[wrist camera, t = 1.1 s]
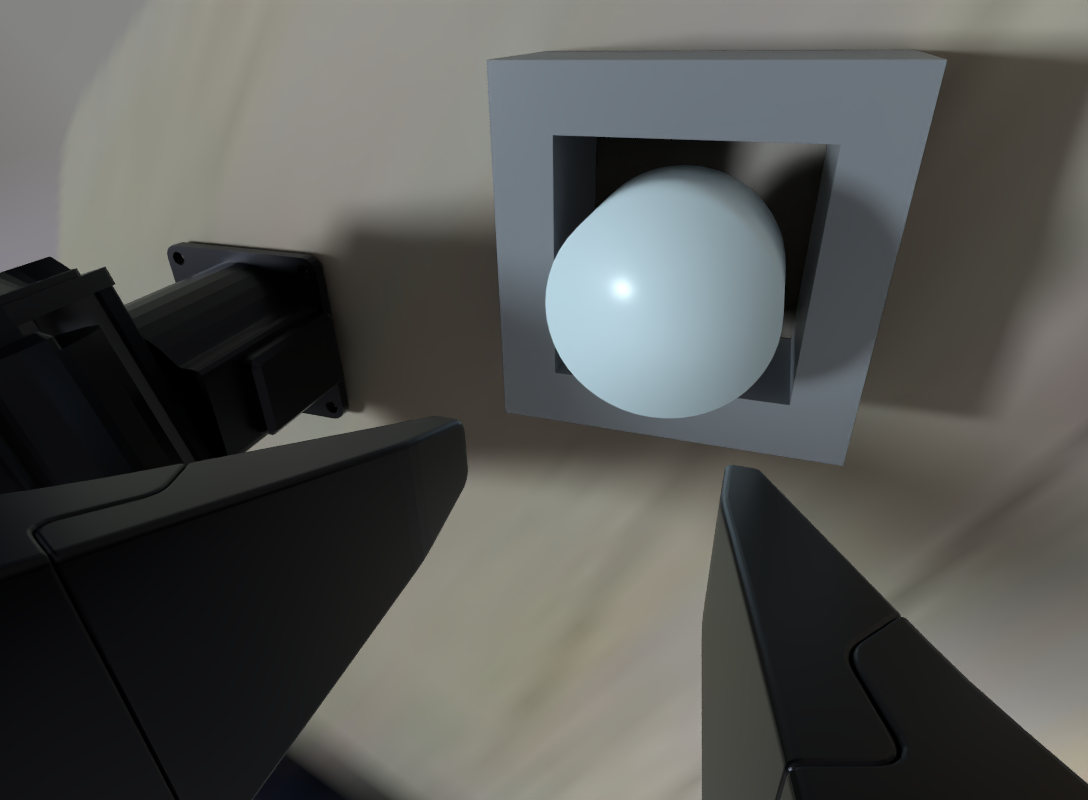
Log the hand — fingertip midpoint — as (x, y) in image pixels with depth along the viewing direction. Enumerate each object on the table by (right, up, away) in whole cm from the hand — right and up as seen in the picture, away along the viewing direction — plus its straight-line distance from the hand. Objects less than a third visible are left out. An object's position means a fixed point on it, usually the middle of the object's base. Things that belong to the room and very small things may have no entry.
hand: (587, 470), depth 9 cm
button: (+3, +4, +7) cm, 8 cm away
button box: (+4, +6, +10) cm, 12 cm away
